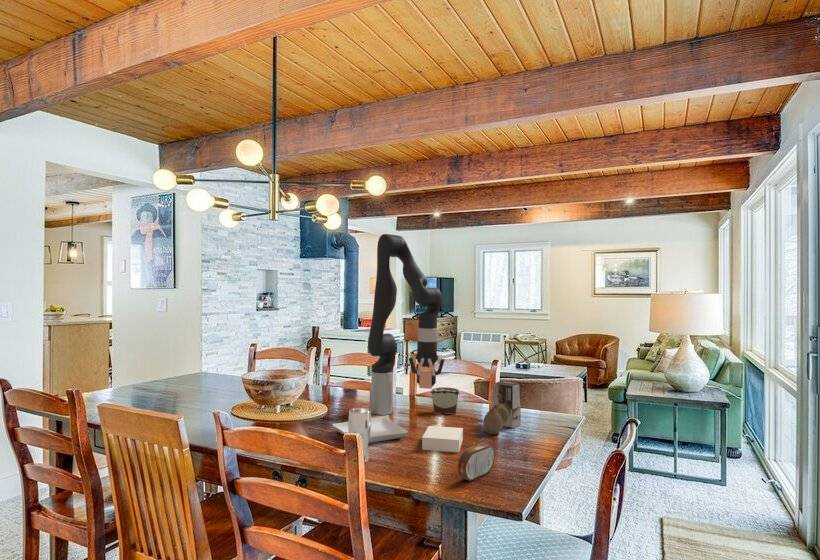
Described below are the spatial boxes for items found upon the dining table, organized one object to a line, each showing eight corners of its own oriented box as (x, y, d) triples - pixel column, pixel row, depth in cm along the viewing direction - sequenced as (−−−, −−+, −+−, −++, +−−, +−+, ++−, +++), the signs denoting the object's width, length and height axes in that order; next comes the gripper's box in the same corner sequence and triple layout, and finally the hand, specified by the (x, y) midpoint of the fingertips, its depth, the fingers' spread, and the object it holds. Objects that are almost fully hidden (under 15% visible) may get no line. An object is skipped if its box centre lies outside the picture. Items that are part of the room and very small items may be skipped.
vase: (503, 431, 183) (503, 407, 183) (500, 436, 176) (501, 412, 176) (485, 429, 185) (485, 406, 185) (481, 434, 178) (481, 410, 178)
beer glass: (348, 456, 153) (348, 407, 153) (370, 455, 154) (371, 407, 154) (347, 464, 146) (348, 413, 146) (370, 463, 147) (371, 413, 147)
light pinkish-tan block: (419, 388, 185) (419, 372, 185) (421, 385, 189) (421, 370, 189) (431, 388, 184) (431, 372, 184) (432, 386, 188) (433, 370, 188)
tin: (487, 468, 144) (487, 439, 145) (496, 471, 142) (497, 441, 142) (456, 482, 133) (456, 451, 134) (465, 485, 131) (466, 453, 131)
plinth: (422, 449, 160) (422, 437, 160) (428, 437, 174) (428, 425, 174) (458, 452, 158) (459, 440, 158) (462, 439, 172) (462, 428, 172)
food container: (459, 410, 213) (459, 387, 214) (459, 414, 207) (459, 390, 208) (431, 409, 215) (431, 386, 215) (430, 413, 209) (430, 389, 209)
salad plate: (351, 449, 161) (352, 438, 161) (331, 432, 180) (331, 422, 180) (409, 440, 171) (409, 431, 171) (383, 425, 189) (384, 416, 189)
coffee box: (521, 425, 191) (521, 383, 192) (512, 428, 187) (512, 385, 187) (501, 420, 198) (501, 380, 198) (492, 423, 193) (492, 382, 193)
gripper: (406, 340, 185) (405, 385, 184) (444, 341, 182) (443, 388, 182) (410, 338, 192) (409, 382, 192) (447, 339, 189) (446, 384, 189)
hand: (426, 384), depth 187 cm, fingers closed on light pinkish-tan block, 4 cm apart
